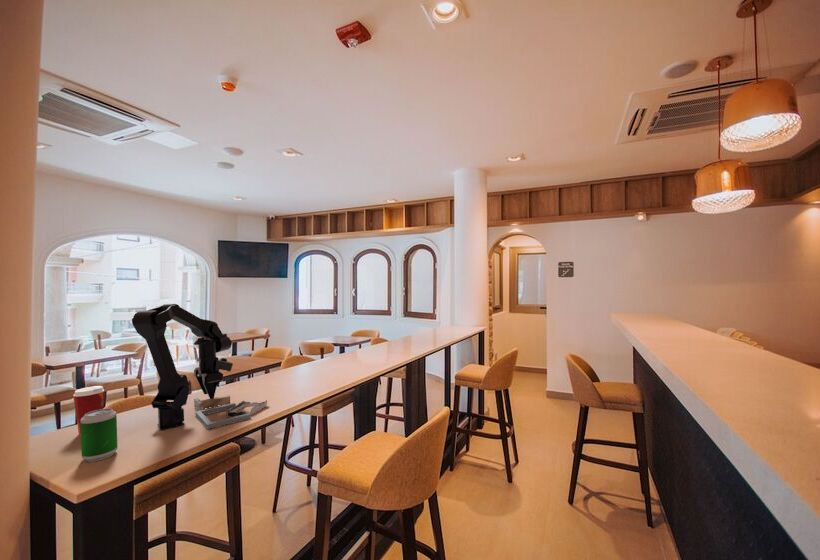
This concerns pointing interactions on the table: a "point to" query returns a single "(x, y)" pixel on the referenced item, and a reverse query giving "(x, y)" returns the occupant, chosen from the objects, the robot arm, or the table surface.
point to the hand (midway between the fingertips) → (208, 396)
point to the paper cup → (87, 402)
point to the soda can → (98, 434)
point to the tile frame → (210, 424)
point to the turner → (211, 402)
